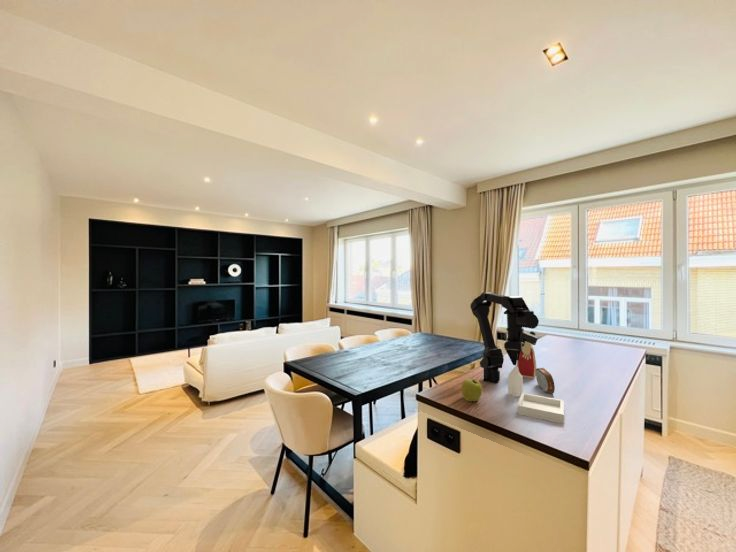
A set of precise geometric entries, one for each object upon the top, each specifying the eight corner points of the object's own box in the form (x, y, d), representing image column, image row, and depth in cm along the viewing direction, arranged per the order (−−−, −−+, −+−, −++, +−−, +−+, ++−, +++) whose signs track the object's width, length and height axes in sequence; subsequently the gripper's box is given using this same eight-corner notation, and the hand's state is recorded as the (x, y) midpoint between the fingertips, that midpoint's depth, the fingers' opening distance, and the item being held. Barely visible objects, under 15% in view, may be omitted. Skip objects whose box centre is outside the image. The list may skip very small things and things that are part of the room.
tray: (517, 413, 108) (517, 405, 108) (521, 400, 120) (521, 392, 120) (563, 423, 101) (563, 414, 101) (563, 408, 113) (563, 400, 113)
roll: (510, 362, 131) (524, 365, 127) (510, 390, 131) (524, 393, 127) (506, 365, 126) (520, 368, 123) (506, 394, 126) (521, 397, 123)
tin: (555, 396, 124) (555, 376, 124) (547, 396, 124) (546, 375, 124) (542, 383, 138) (541, 365, 139) (534, 383, 139) (534, 365, 139)
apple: (454, 396, 123) (460, 371, 124) (469, 398, 126) (474, 375, 127) (468, 403, 115) (474, 377, 117) (483, 406, 118) (489, 380, 120)
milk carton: (536, 373, 153) (536, 334, 153) (535, 378, 145) (534, 337, 145) (516, 370, 158) (516, 332, 158) (514, 375, 150) (514, 335, 150)
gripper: (534, 329, 115) (536, 370, 115) (537, 324, 131) (539, 360, 130) (503, 327, 121) (504, 367, 121) (509, 322, 137) (511, 357, 136)
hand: (516, 362), depth 127 cm, fingers open, 9 cm apart
